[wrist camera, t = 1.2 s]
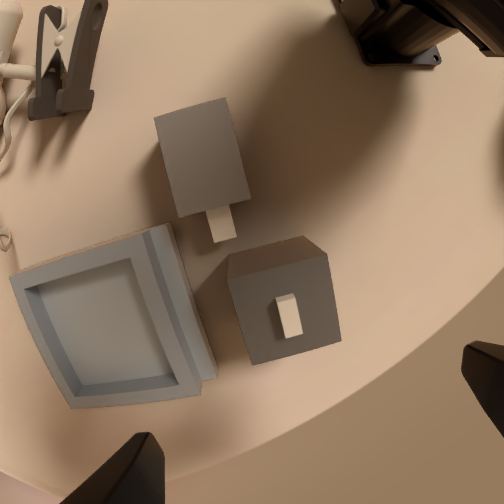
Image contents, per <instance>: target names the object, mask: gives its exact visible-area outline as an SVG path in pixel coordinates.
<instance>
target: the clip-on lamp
mask: <svg viewBox="0 0 504 504" xmlns="http://www.w3.org/2000/svg"><path fill="white" fill-rule="evenodd" d="M107 9H108V0H85V2H84V5H83V8H82V11H81V12H80V13H79V14H78V15H77V16H76V17H75V18H74V20H73V21H72V22H71V23H70V24H69V25H68V26H67V25H66V23H67V9H66V8H65V7H64V6H62V5H61V6H58V7H54V6H52V5H49V6H46V7H43V8H42V9H41V12H40V15H39V24H38V36H37V51H36V66H31V65H19V64H10V63H8V59H9V56H10V53H11V49H12V46H13V43H14V40H15V37H16V34H17V31H18V28H19V25H20V23H21V20H22V17H23V10H22V8H21V6H20V4H19V3H18V2H16V1H15V0H0V126H1V124H2V122H3V119H4V116H5V112H6V97H5V93H4V90H3V88H2V83H3V78H4V77H5V78H15V79H25V80H32V81H31V83H30V85H29V86H28V87H27V89H26V90H25V91H24V92H23V94H22V95H21V96H20V97H19V98H18V100H17V101H16V102H15V103H14V104H13V106H12V107H11V108H10V109H9V111H8V113H7V114H6V116H5V119H4V123H3V130H4V135H5V147H4V149H3V151H2V153H1V154H0V161H1V160H2V158H3V157H4V155H5V154H6V152H7V151H8V149H9V147H10V144H11V138H12V137H11V132H10V119H11V117H12V115H13V114H14V112H15V111H16V109H17V108H18V107H19V106H20V105H21V103H22V102H23V101H24V100H25V99H26V98H27V96H28V95H29V94H30V92H31V91H32V90H33V89H34V87H35V86H36V98H32V99H29V101H28V119H29V120H30V121H34V120H40V119H45V118H52V117H58V116H65V115H66V112H73V111H83V110H91V108H92V103H93V98H94V90H89V89H90V83H91V77H92V72H93V67H94V62H95V57H96V52H97V48H98V44H99V39H100V35H101V31H102V27H103V24H104V20H105V16H106V13H107ZM66 71H67V76H66V82H65V89H62V77H63V76H64V74H65V72H66ZM0 235H6V236H8V237H9V239H8V242H7V244H6V245H4V244H3V242H2V240H1V237H0V248H1V250H2V251H4V252H6V251H7V250H8V249H9V248H10V245H11V232H10V231H9V230H8V229H7V228H0Z"/></svg>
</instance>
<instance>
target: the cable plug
mask: <svg viewBox="0 0 504 504" xmlns="http://www.w3.org/2000/svg"><path fill="white" fill-rule="evenodd" d="M154 121H155V126H156V130H157V134H158V139H159V143H160V147H161V151H162V155H163V159H164V163H165V168H166V171H167V175H168V179H169V183H170V187H171V191H172V195H173V199H174V202H175V206H176V210H177V213H178V217H179V218H181V217H185V216H188V215H192V214H195V213H199V212H203V211H206V215H207V218H208V222H209V226H210V229H211V233H212V237H213V240H214V243H216V242H220V241H224V240H228V239H231V238H235V237H237V234H236V230H235V226H234V223H233V219H232V215H231V211H230V207H229V204H233V203H237V202H241V201H245V200H249V199H251V195H250V191H249V187H248V183H247V179H246V175H245V171H244V167H243V163H242V159H241V155H240V151H239V147H238V144H237V140H236V136H235V132H234V128H233V124H232V120H231V116H230V113H229V109H228V105H227V101H226V97H225V98H221V99H217V100H213V101H209V102H205V103H202V104H198V105H194V106H191V107H187V108H184V109H180V110H177V111H174V112H171V113H167V114H164V115H161V116H158V117H155V118H154Z"/></svg>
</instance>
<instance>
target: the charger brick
mask: <svg viewBox="0 0 504 504" xmlns="http://www.w3.org/2000/svg"><path fill="white" fill-rule="evenodd" d="M227 283H228V287H229V290H230V294H231V297H232V300H233V304H234V307H235V311H236V314H237V317H238V321H239V324H240V327H241V331H242V334H243V337H244V341H245V344H246V347H247V350H248V354H249V357H250V360H251V363H252V365H256V364H260V363H264V362H268V361H272V360H276V359H280V358H284V357H288V356H292V355H295V354H299V353H303V352H306V351H310V350H313V349H317V348H320V347H323V346H327V345H330V344H333V343H337V342H340V341H342V340H341V334H340V327H339V320H338V314H337V308H336V302H335V296H334V290H333V284H332V279H331V273H330V268H329V262H328V257H327V254H326V253H325V252H324V251H323V250H321V249H320V248H319V247H317V246H316V245H315V244H314V243H312V242H311V241H310V240H308V239H307V238H306V237H304V236H300V237H296V238H292V239H288V240H284V241H281V242H277V243H273V244H269V245H265V246H261V247H257V248H253V249H250V250H246V251H242V252H238V253H234V254H230V255H229V257H228V269H227Z"/></svg>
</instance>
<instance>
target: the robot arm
mask: <svg viewBox="0 0 504 504" xmlns="http://www.w3.org/2000/svg"><path fill="white" fill-rule="evenodd" d="M339 2H340V6H339V7H340V9H341V12H342V14H343V16H344V19H345V21H346V24H347V26H348V29H349V31H350V34H351V36H353V37H354V39H355V41H356V44H357V47H358V49H359V52H360V55H361V58H362V60H363V62H364V63H365V64H366V65H368V66H396V65H423V66H437V65H439V64H440V63H441V57H440V54H439V52H438V49H437V46H436V45H437V44H438V43H440V42H442V41H444V40H445V39H447V38H449V37H450V36H452V35H454V34H456V33H458V32H459V31H461V32H462V33H463V34H464V35H465V36H466V37H468V38H469V39H470V40H471V41H472V42H473V43H474V44H475V45H476V46H477V47H478V48H479V50H480V51H481V52H482V53H483V54H484V55H485V56H486V57H504V0H339ZM368 56H370V57H371V58H372V59H373V61H371V60H369V58H368ZM433 57H434V58H435V59H436V61H435V60H434V58H433ZM461 371H462V374H463V376H464V378H465V380H466V381H467V383H468V385H469V386H470V388H471V390H472V391H473V393H474V394H475V396H476V398H477V400H478V401H479V403H480V405H481V406H482V408H483V410H484V411H485V412H486V414H487V415H488V417H489V418H490V419H491V421H492V422H493V423H494V425H495V426H496V428H497V429H498V430H499V432H500V433H501V435H502V436H503V437H504V346H502V345H497V344H492V343H487V342H482V341H473V342H471V343H469V344H467V345H466V346H465V347H464V350H463V358H462V365H461ZM60 504H165V457H164V452H163V450H162V449H161V447H160V445H159V444H158V442H157V441H156V439H155V437H154V436H153V434H152V433H150V432H139V433H136V434H135V435H134V436H133V437H132V438H131V439H129V440H128V441H127V442H126V443H125V444H124V445H123V446H122V447H121V448H120V449H119V450H118V451H117V452H116V453H115V454H114V455H113V456H112V457H110V458H109V459H108V460H107V461H106V462H105V463H104V464H103V465H102V466H101V467H100V468H99V469H98V470H96V471H95V472H94V473H93V474H92V475H91V476H90V477H89V478H88V479H87V480H85V481H84V482H83V483H82V484H81V485H80V486H79V487H78V488H77V489H75V490H74V491H73V492H72V493H71V494H70V495H69V496H68V497H66V498H65V499H64V500H63V501H62V502H61V503H60Z"/></svg>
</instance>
